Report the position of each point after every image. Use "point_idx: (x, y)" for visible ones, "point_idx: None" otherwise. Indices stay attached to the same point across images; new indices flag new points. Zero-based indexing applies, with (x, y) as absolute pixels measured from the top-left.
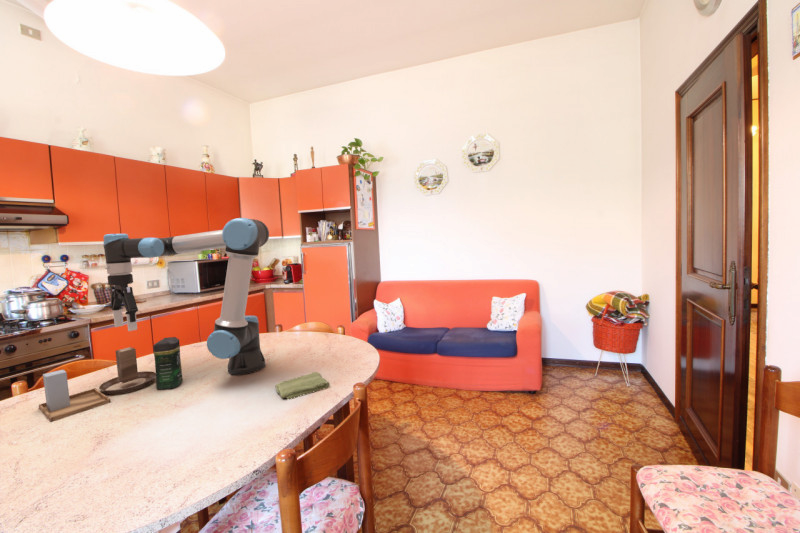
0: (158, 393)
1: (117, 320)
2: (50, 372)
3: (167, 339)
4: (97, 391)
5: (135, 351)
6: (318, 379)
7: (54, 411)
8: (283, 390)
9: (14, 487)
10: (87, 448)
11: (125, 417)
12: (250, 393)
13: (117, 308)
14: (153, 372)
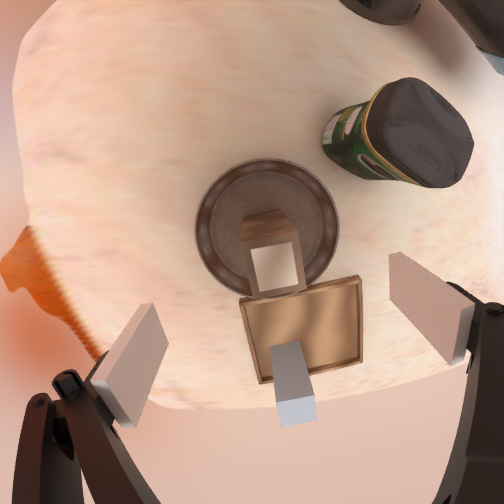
0: (388, 181)
1: (152, 357)
2: (280, 418)
3: (450, 131)
4: (274, 300)
5: (295, 229)
6: None
7: (308, 359)
8: None
9: None
10: (484, 303)
11: (448, 257)
12: (497, 76)
13: (100, 414)
14: (251, 162)
